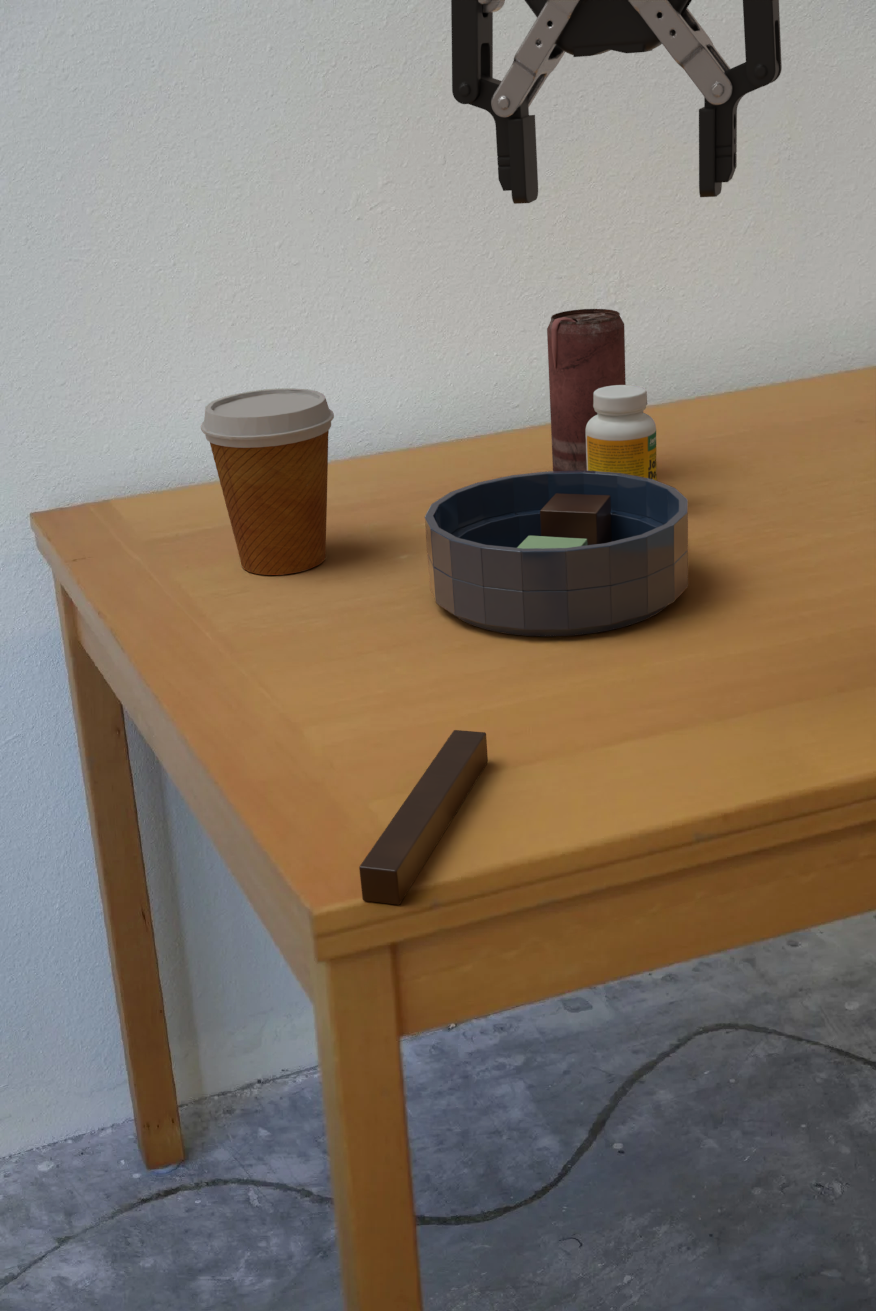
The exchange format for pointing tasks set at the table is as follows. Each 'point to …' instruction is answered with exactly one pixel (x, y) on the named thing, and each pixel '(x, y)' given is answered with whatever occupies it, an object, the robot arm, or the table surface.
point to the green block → (551, 542)
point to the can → (580, 376)
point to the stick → (423, 818)
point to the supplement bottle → (621, 433)
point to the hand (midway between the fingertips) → (616, 198)
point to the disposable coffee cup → (273, 475)
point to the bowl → (556, 555)
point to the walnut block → (578, 517)
